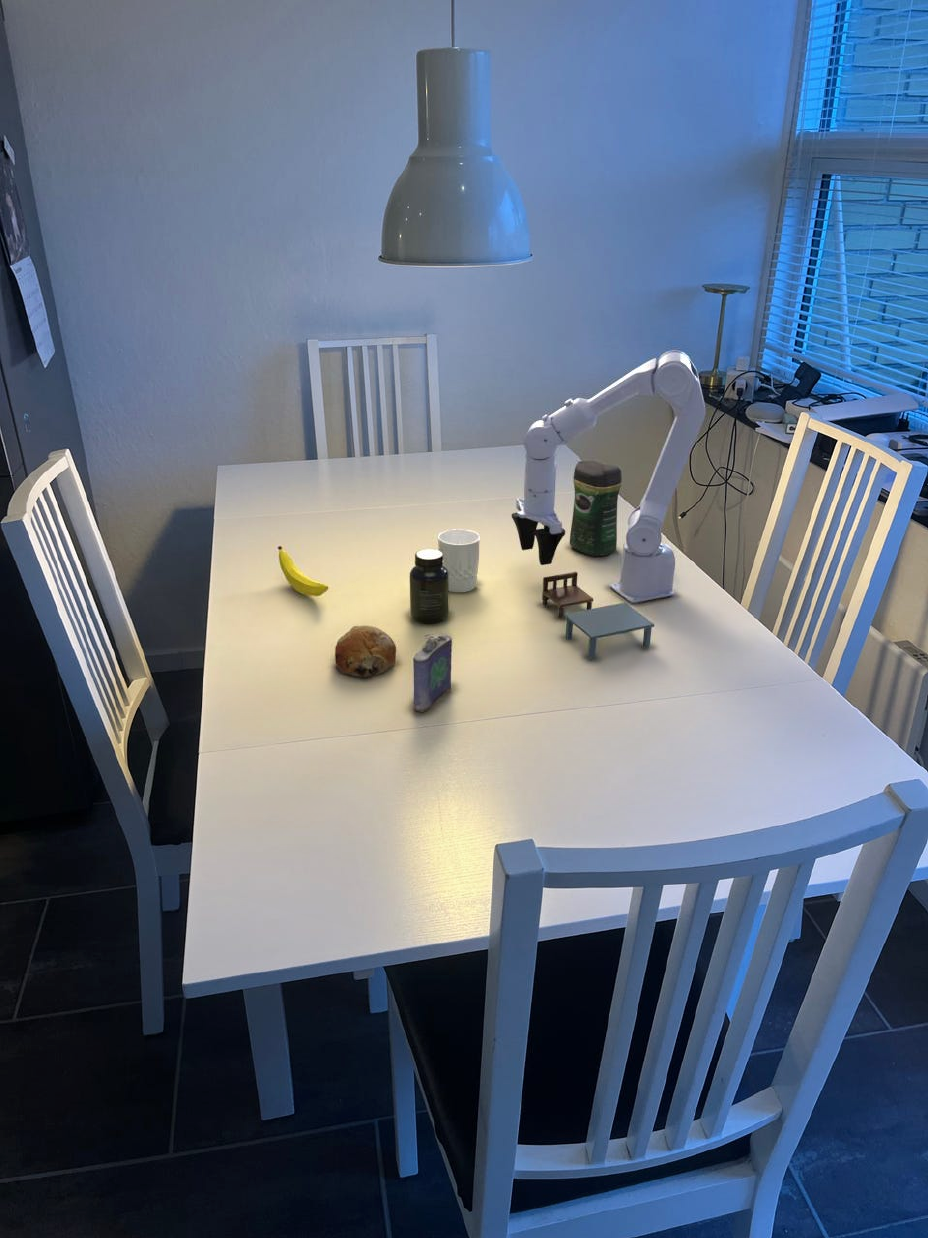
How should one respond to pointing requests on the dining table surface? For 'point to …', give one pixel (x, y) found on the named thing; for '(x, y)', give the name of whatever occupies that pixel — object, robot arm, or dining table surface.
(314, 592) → the banana
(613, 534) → the coffee jar
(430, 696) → the flask
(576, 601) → the chair
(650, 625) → the table
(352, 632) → the bread roll
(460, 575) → the white cup
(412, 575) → the supplement bottle
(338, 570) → the dining table surface
